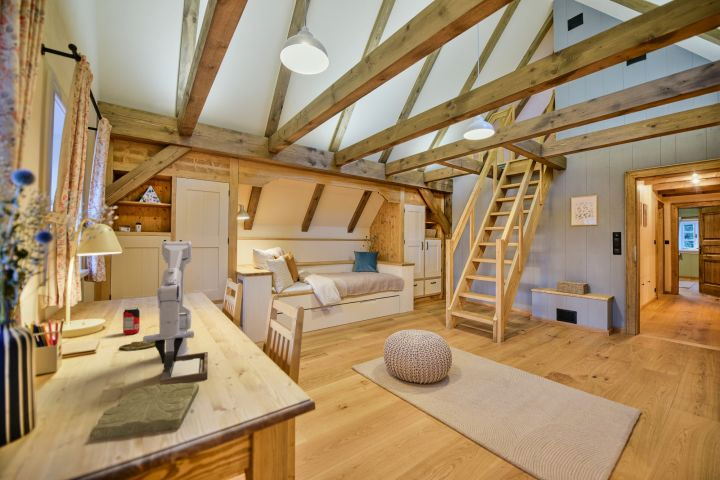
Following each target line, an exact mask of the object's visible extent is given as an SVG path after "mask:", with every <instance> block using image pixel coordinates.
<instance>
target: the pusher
mask: <svg viewBox="0 0 720 480" xmlns="http://www.w3.org/2000/svg"><path fill="white" fill-rule="evenodd" d="M165 352H166V351H165ZM173 359H174V351H168V352H166V354H165V358H164V363H163V371H162V375H161V376H162V377H161V379H163V378H170V374H171V371H172V367H173V364H174V361H173Z"/></svg>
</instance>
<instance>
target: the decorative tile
mask: <svg viewBox="0 0 720 480" xmlns="http://www.w3.org/2000/svg"><path fill="white" fill-rule="evenodd" d="M199 388H200V384H199V383H197V382H186V383H178V384H167V385H160V384H159V385H147V386H146V385H145V386H143V387H138V388H133V390H132V392H131V393H130V394H129V395H127V396H126V398H125V399H123V400H121V401H119V402H118V403H117V404H116V405H115V406H111V407H109V408H108V409H106V410H104V411H103V414H102V415H101V416H100V418H98V420H97V423H96V425H95V426H94V427H93V428H92V433H91V439H90V441H95V440H96V441H97V440H102V439H113V438H119V437H128V436H134V435H142V434H150V433H157V432H164V431H172V430H178V429H180V428H181V426H182V424H183V422H184V420H185V418H186V416H187V414H188V413H189V411H190V409H191V406H192V405H193V402H194V401H195V399H196V396H197V394H198V393H199V390H200V389H199Z"/></svg>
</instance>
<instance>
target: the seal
mask: <svg viewBox="0 0 720 480" xmlns="http://www.w3.org/2000/svg"><path fill="white" fill-rule="evenodd" d="M152 348H156V347H155V342H147V343H144V344H143V340H141V341H132V342H131V343H128V344H124V345H121V346H119V348H118V349H119V350H122V351H124V352H132V351H134V352H135V351H144V350H148V349H152Z"/></svg>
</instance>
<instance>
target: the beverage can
mask: <svg viewBox="0 0 720 480" xmlns="http://www.w3.org/2000/svg"><path fill="white" fill-rule="evenodd" d="M140 315H141V314H140V310H139V307H136V306H135V307H126V308H124V311H123V313H122V321H123V322H122V330H123V331H122V333H123V334H124V335H125V336H131V335H136V334H138V333H139V332H140V324H141V323H140V321H141V320H140Z"/></svg>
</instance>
